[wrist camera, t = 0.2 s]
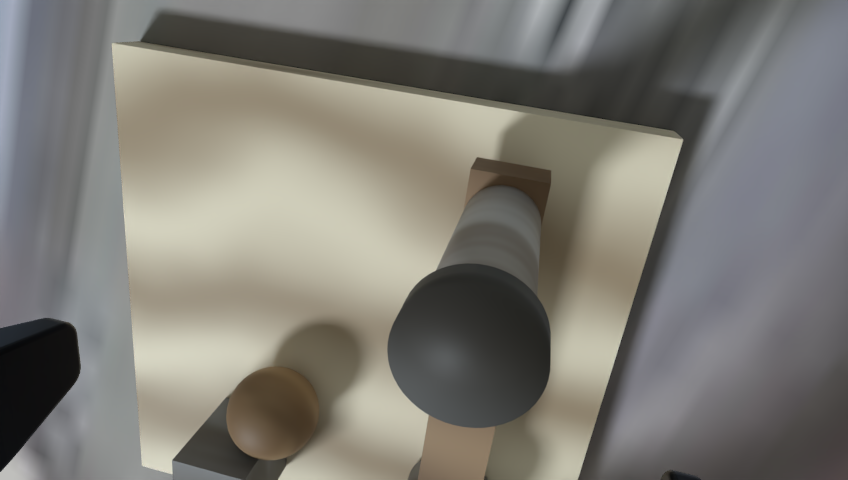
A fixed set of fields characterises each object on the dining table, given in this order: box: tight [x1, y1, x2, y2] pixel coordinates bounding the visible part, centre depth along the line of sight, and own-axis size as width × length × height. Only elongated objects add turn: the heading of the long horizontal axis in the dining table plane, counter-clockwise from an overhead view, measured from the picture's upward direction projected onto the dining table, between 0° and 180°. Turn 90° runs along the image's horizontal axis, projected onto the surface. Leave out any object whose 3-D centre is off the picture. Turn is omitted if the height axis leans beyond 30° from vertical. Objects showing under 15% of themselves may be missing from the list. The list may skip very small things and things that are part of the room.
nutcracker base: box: [112, 41, 683, 480], centre depth 22 cm, size 20×20×6 cm
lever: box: [387, 157, 551, 480], centre depth 18 cm, size 16×4×10 cm, turn 172°
